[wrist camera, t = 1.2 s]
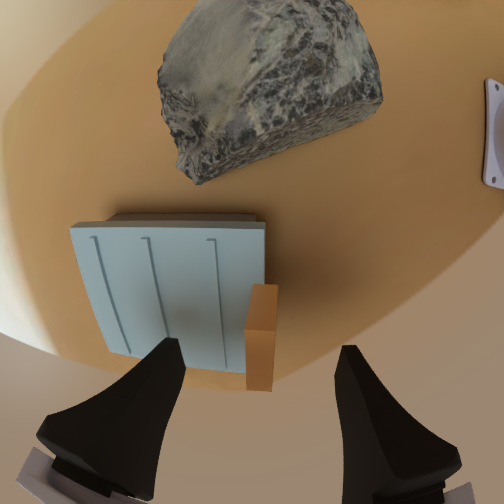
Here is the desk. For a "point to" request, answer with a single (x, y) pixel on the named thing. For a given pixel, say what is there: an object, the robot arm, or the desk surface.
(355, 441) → the robot arm
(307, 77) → the stone
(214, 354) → the lid
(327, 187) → the desk surface
